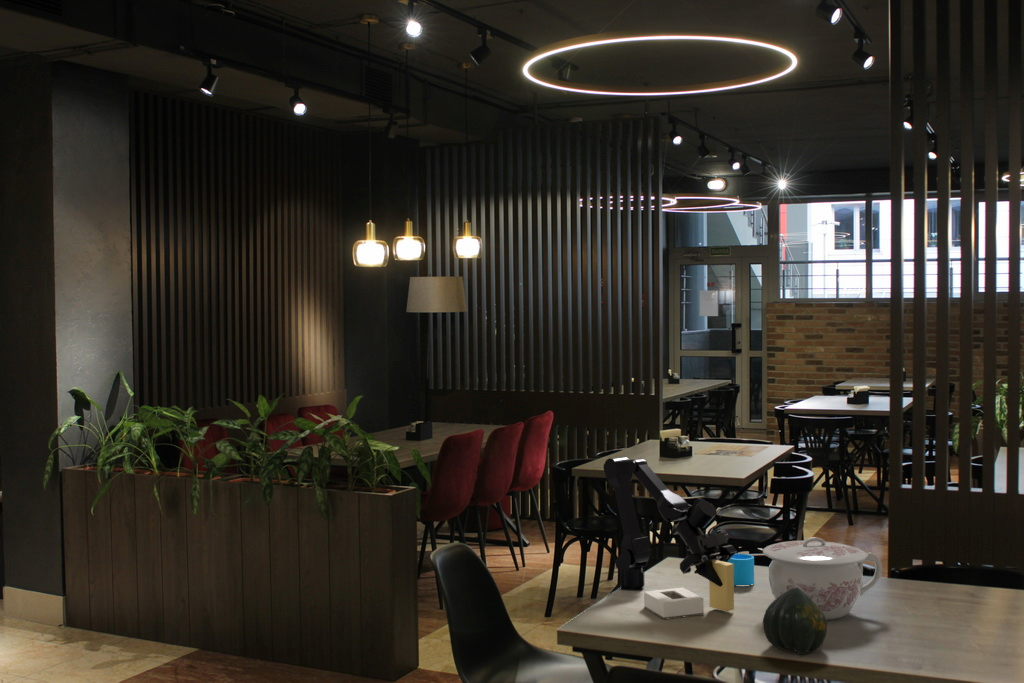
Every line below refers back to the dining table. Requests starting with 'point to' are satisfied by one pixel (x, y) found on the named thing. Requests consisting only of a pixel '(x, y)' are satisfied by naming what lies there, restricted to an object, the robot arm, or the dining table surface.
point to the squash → (795, 622)
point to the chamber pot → (821, 573)
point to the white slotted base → (673, 603)
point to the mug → (743, 569)
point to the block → (725, 593)
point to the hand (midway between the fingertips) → (725, 584)
